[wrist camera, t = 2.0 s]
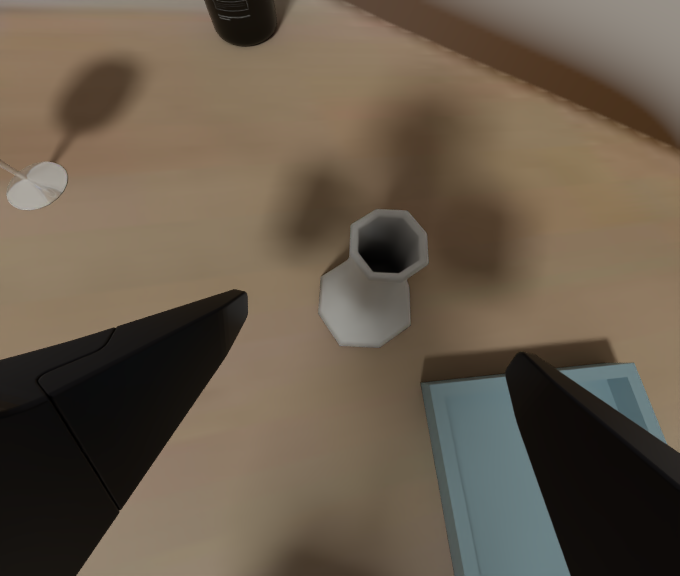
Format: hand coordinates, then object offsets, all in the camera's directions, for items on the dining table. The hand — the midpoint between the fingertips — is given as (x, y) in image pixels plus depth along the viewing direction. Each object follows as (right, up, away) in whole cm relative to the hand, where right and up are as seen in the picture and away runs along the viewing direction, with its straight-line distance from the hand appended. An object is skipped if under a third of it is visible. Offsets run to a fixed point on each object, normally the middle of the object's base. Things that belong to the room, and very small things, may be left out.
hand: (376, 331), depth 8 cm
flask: (+1, 0, +11) cm, 11 cm away
